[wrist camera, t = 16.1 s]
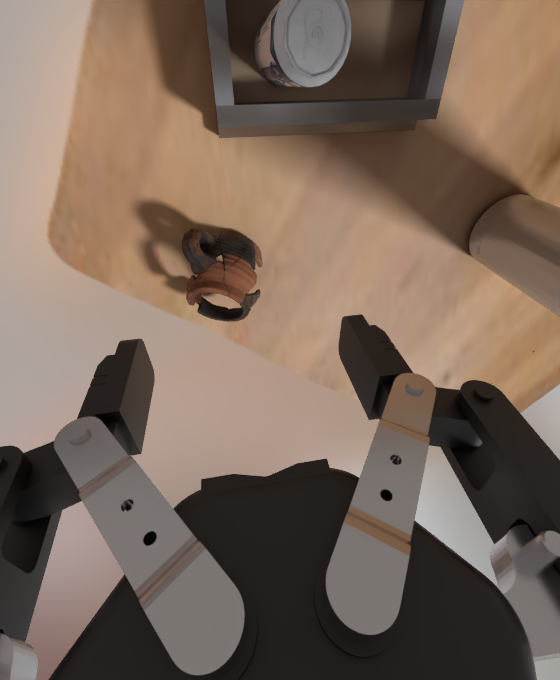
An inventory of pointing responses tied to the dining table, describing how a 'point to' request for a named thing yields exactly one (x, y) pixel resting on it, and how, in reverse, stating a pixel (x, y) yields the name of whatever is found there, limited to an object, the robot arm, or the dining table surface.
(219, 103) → the frame
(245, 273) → the broken pottery vessel
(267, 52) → the beer can
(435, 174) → the dining table surface
